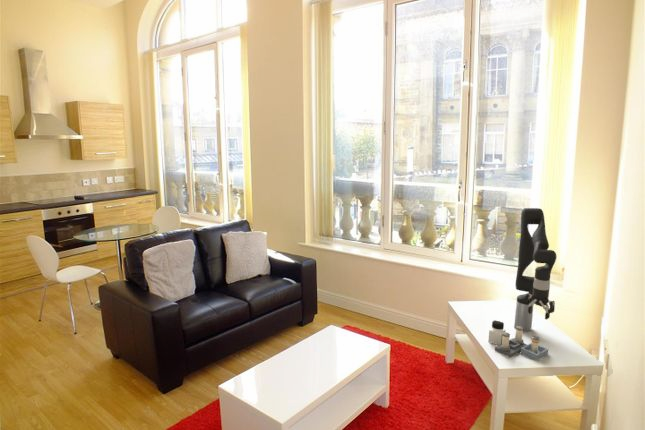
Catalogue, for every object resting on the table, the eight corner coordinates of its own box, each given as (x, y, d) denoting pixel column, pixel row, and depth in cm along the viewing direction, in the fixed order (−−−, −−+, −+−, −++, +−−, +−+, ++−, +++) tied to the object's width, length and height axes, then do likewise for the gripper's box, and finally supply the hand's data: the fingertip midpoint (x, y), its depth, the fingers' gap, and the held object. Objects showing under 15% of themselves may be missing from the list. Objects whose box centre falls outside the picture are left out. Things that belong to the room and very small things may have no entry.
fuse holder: (512, 341, 235) (514, 323, 233) (528, 347, 228) (530, 329, 226) (494, 350, 225) (495, 331, 223) (509, 357, 217) (511, 338, 215)
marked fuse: (532, 350, 223) (534, 335, 222) (539, 353, 220) (540, 337, 219) (529, 352, 221) (530, 336, 220) (535, 355, 218) (537, 339, 217)
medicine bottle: (501, 345, 230) (503, 325, 228) (488, 341, 234) (489, 322, 232) (504, 340, 236) (506, 321, 233) (491, 337, 240) (493, 317, 238)
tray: (531, 347, 228) (531, 342, 227) (547, 354, 220) (548, 349, 220) (520, 353, 221) (520, 348, 221) (537, 361, 214) (537, 355, 214)
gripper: (559, 289, 210) (555, 319, 213) (531, 281, 222) (528, 309, 225) (551, 292, 206) (548, 322, 209) (524, 284, 217) (521, 313, 220)
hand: (538, 316), depth 217 cm, fingers open, 8 cm apart
